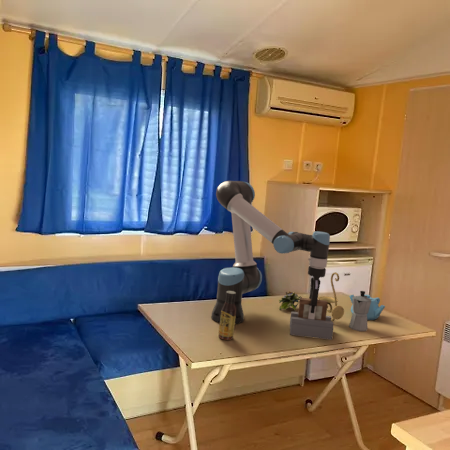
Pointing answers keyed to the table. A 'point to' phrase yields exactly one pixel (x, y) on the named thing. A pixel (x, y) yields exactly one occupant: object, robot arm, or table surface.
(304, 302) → the picture frame
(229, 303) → the sauce bottle
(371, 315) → the teapot
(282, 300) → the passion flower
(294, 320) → the picture ledge
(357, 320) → the coffee maker
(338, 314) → the wall sconce
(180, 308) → the table surface
